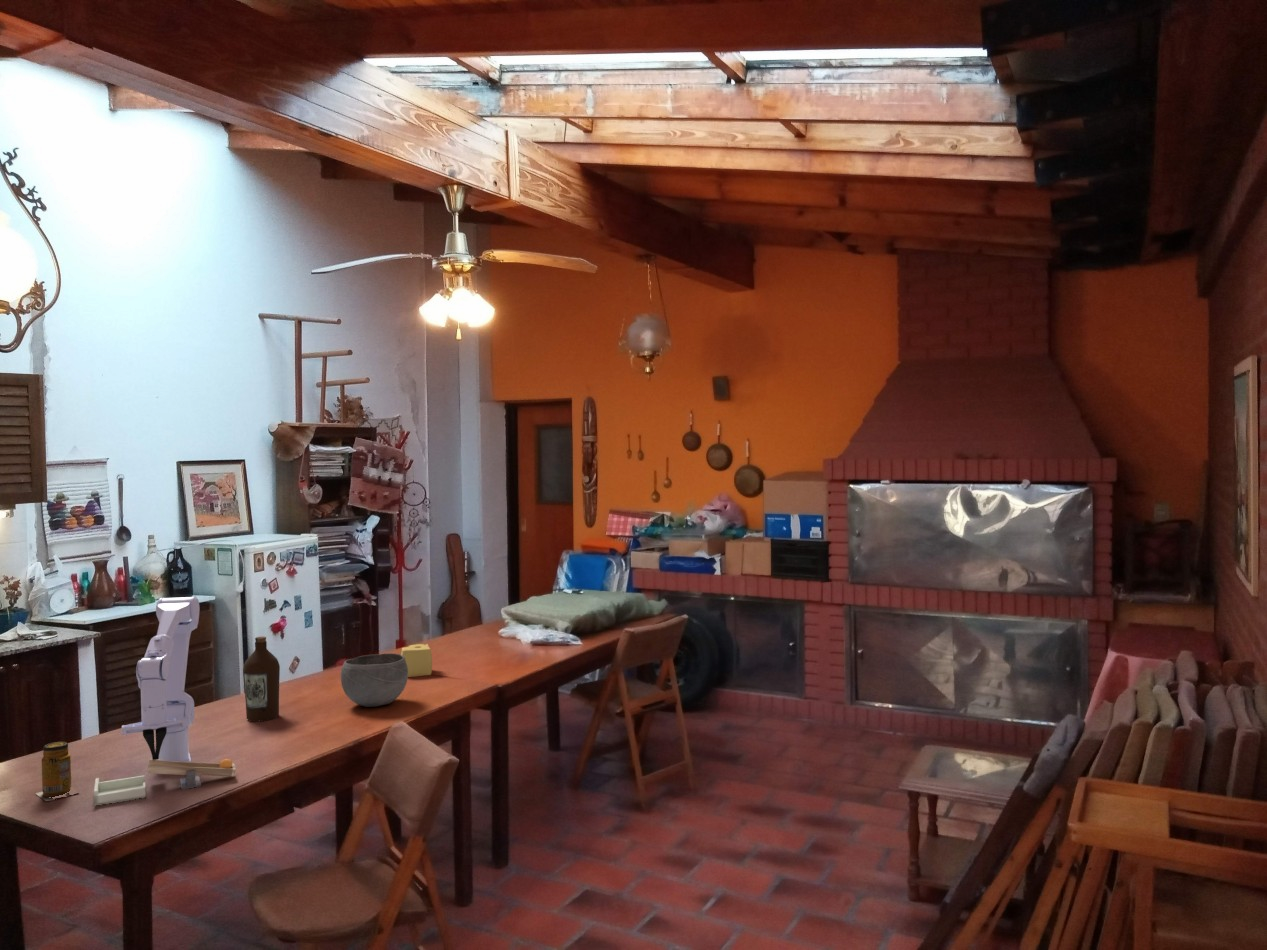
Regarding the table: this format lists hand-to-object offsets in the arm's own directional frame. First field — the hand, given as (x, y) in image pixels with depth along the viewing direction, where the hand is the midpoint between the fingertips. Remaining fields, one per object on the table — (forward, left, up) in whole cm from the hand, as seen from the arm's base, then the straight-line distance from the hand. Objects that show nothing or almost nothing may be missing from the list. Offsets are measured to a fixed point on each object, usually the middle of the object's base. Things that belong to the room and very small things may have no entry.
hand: (155, 758), depth 242 cm
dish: (+7, -8, -6) cm, 12 cm away
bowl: (-45, +65, -6) cm, 79 cm away
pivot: (+7, +8, -6) cm, 12 cm away
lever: (+4, +8, -3) cm, 9 cm away
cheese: (-81, +88, -6) cm, 119 cm away
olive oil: (-48, +31, -6) cm, 57 cm away
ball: (+7, +16, -2) cm, 17 cm away
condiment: (-2, -21, -6) cm, 22 cm away
